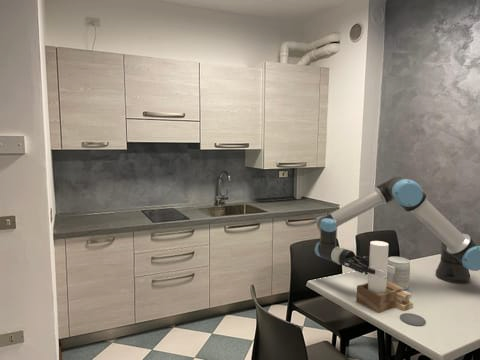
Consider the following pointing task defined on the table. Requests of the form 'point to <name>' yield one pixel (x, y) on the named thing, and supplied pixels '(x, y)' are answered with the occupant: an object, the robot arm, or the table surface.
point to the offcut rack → (384, 298)
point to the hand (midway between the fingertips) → (388, 272)
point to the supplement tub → (399, 272)
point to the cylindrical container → (378, 266)
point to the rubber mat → (412, 319)
